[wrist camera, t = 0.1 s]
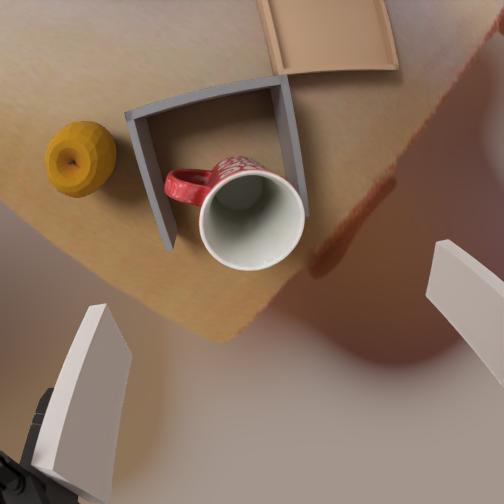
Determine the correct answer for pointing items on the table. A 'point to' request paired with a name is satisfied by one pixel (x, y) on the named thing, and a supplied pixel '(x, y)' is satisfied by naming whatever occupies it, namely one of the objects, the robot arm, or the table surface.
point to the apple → (80, 158)
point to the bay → (138, 116)
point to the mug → (242, 211)
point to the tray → (327, 36)
